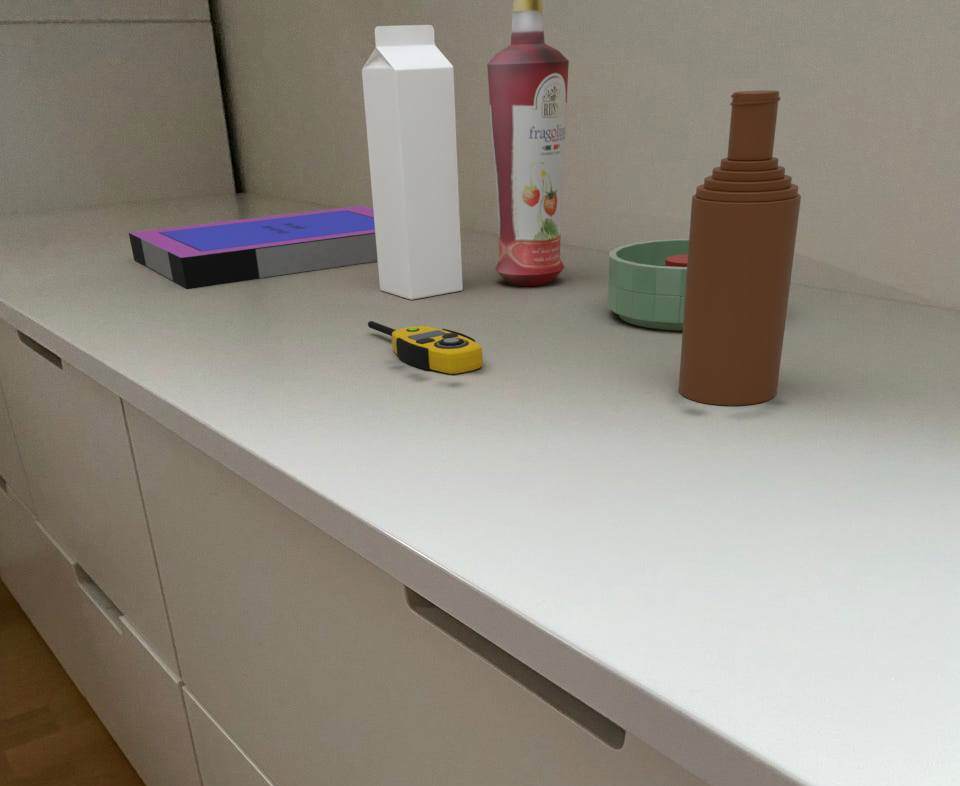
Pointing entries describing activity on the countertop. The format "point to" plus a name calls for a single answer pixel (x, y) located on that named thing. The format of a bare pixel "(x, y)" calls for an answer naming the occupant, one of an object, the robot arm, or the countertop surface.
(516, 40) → the liquor
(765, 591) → the countertop surface
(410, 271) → the milk
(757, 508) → the countertop surface
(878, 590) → the countertop surface
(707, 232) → the bottle
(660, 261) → the bowl
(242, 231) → the book
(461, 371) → the yellow walkie talkie
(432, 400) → the countertop surface
